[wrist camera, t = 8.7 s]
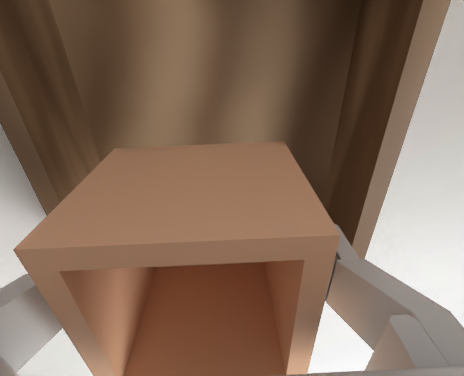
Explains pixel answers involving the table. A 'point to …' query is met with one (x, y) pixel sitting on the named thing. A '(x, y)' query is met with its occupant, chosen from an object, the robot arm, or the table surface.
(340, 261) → the robot arm
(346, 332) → the table surface
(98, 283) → the terracotta tub
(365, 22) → the walnut crate
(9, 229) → the table surface
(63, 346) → the table surface
